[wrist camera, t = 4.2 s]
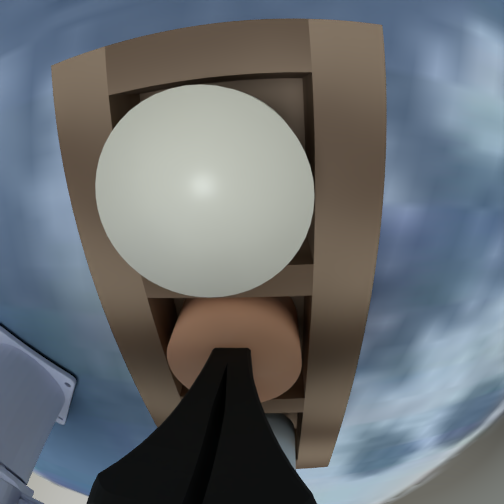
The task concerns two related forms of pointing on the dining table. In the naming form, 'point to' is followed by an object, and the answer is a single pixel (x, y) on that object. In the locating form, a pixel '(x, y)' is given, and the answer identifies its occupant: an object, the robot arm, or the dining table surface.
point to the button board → (325, 193)
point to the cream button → (204, 190)
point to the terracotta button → (239, 339)
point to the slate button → (284, 434)
